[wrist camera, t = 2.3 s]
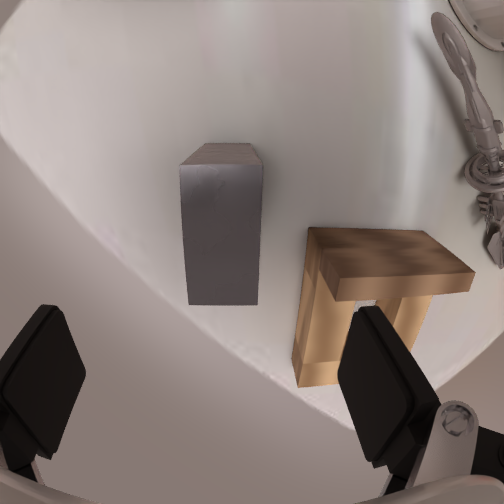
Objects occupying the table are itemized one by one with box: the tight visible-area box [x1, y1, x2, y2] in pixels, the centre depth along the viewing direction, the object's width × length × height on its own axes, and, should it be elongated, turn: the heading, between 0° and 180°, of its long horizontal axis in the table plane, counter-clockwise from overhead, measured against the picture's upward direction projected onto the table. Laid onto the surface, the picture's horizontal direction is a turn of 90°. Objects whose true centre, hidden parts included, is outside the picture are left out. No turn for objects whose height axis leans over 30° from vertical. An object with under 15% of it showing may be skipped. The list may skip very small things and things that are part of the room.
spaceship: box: [431, 12, 504, 269], centre depth 23 cm, size 8×35×8 cm
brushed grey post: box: [180, 143, 263, 305], centre depth 21 cm, size 4×8×13 cm, turn 178°
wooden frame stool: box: [292, 227, 476, 388], centre depth 29 cm, size 14×18×10 cm
